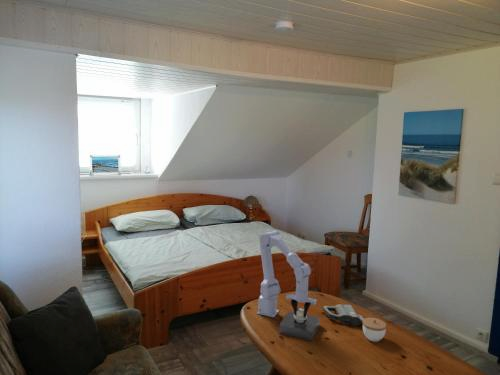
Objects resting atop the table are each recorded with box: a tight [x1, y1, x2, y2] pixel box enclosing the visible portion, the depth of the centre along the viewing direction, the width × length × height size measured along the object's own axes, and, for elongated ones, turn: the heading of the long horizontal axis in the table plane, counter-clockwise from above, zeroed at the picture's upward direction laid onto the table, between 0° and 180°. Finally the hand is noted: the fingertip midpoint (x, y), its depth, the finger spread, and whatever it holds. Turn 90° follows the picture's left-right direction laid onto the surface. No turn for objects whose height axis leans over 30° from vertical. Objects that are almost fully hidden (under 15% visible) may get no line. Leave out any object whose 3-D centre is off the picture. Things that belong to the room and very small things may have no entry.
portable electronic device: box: [322, 303, 365, 327], centre depth 196 cm, size 16×20×5 cm
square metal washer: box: [278, 310, 320, 341], centre depth 185 cm, size 16×16×4 cm
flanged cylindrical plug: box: [294, 308, 308, 323], centre depth 185 cm, size 7×7×6 cm
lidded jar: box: [362, 317, 387, 343], centre depth 179 cm, size 11×11×9 cm
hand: (300, 315), depth 185 cm, fingers closed on flanged cylindrical plug, 4 cm apart
